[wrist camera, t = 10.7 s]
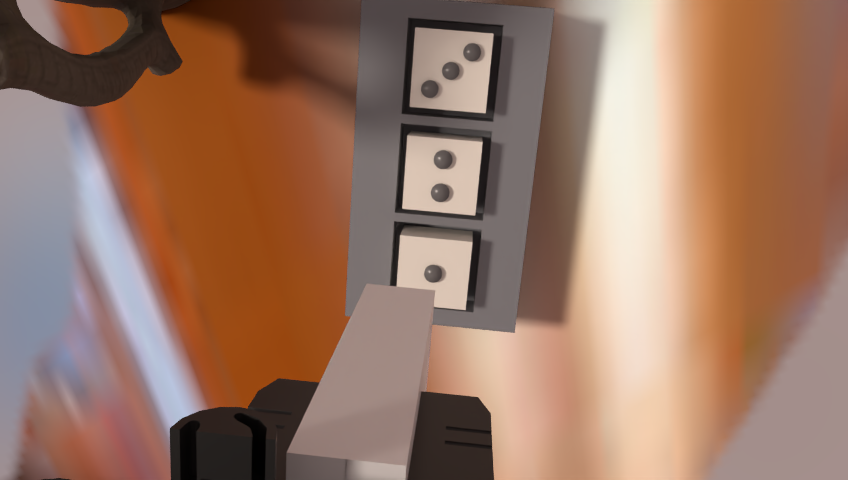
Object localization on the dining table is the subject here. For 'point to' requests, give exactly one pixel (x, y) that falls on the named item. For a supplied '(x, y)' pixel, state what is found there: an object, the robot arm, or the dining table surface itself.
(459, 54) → the tile
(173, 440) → the robot arm
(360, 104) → the grey dice tray
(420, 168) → the cream square block
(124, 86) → the beer stein
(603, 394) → the dining table surface
